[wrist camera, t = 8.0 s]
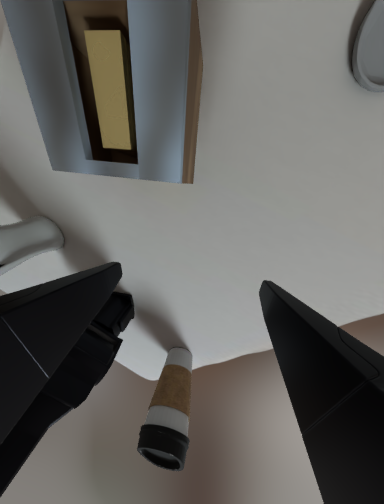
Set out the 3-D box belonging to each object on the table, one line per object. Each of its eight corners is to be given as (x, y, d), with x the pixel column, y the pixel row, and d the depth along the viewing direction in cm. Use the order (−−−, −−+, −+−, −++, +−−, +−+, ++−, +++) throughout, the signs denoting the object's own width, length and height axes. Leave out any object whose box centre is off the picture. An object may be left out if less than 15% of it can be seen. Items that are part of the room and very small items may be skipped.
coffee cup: (175, 366, 37) (153, 468, 24) (157, 347, 34) (121, 450, 21) (203, 362, 35) (196, 474, 21) (187, 341, 32) (167, 455, 18)
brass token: (138, 159, 17) (103, 147, 11) (133, 88, 14) (83, 30, 9) (157, 160, 17) (130, 149, 11) (156, 89, 14) (119, 29, 9)
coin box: (111, 175, 19) (52, 170, 12) (94, 62, 14) (-15, -48, 7) (193, 183, 18) (179, 183, 11) (203, 64, 13) (190, -59, 6)
